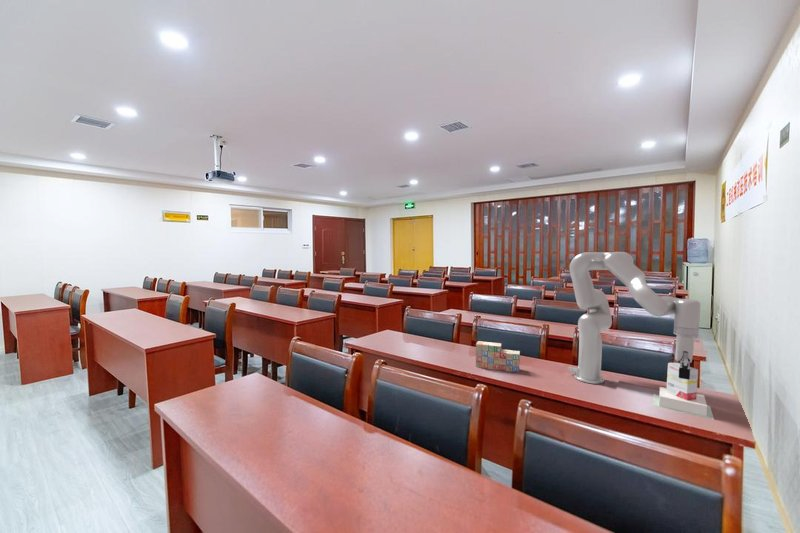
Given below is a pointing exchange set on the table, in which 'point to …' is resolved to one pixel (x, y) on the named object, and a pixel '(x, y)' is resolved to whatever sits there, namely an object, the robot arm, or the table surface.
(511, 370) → the stack of blocks
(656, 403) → the building plate
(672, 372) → the ink box
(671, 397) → the cream brick
